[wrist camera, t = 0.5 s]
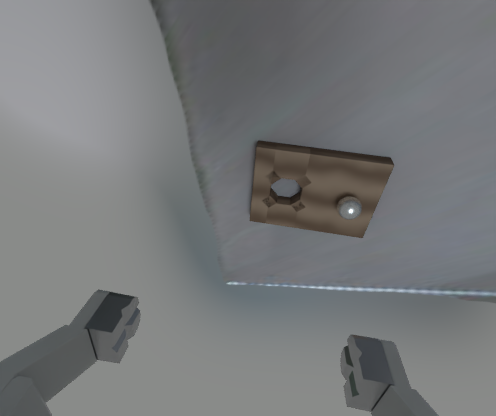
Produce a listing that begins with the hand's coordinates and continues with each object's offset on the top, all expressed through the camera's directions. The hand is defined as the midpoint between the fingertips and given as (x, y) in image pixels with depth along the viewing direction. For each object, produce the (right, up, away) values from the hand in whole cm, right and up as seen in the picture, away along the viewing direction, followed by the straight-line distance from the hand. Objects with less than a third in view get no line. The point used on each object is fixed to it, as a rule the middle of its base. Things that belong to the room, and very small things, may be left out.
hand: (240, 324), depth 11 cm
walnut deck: (+12, +8, +42) cm, 44 cm away
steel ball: (+18, +4, +38) cm, 42 cm away
